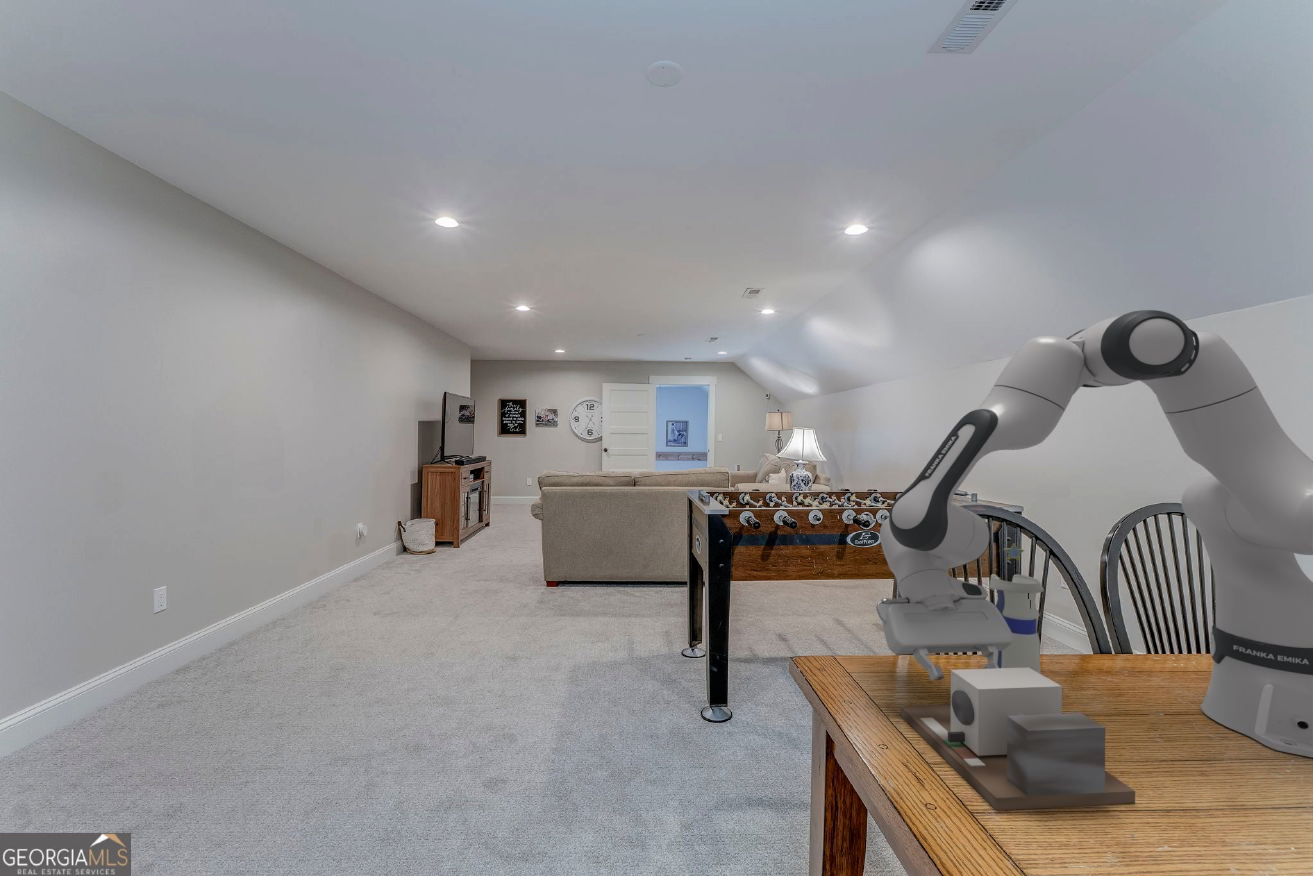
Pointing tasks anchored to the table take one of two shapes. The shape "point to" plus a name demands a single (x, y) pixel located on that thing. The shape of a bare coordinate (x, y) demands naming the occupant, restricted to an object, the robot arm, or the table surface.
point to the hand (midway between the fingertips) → (966, 678)
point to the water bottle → (1019, 617)
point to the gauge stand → (1030, 760)
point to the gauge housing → (997, 704)
